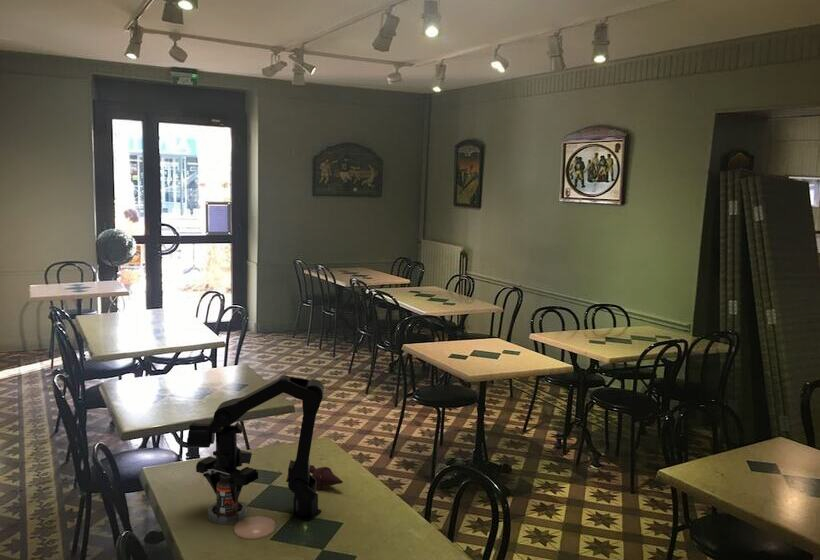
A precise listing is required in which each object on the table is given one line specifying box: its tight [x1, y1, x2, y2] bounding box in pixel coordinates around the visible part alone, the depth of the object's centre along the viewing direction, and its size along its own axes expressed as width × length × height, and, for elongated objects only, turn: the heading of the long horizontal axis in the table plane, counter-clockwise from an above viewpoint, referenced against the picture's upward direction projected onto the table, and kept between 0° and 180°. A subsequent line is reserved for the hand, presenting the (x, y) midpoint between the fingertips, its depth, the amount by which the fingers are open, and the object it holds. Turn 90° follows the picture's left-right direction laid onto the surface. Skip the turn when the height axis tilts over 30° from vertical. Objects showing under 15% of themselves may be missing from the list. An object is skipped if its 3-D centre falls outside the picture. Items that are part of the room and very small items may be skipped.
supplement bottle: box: [216, 473, 239, 516], centre depth 189 cm, size 6×6×11 cm
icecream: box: [310, 464, 344, 490], centre depth 208 cm, size 7×7×15 cm
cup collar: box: [207, 500, 248, 525], centre depth 189 cm, size 10×10×2 cm
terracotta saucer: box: [233, 515, 276, 540], centre depth 182 cm, size 11×11×1 cm
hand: (227, 498), depth 189 cm, fingers closed on supplement bottle, 6 cm apart
